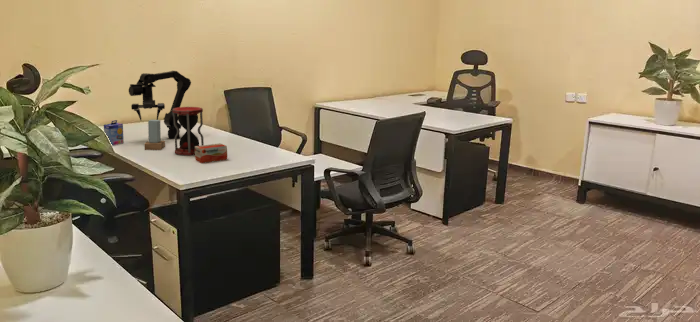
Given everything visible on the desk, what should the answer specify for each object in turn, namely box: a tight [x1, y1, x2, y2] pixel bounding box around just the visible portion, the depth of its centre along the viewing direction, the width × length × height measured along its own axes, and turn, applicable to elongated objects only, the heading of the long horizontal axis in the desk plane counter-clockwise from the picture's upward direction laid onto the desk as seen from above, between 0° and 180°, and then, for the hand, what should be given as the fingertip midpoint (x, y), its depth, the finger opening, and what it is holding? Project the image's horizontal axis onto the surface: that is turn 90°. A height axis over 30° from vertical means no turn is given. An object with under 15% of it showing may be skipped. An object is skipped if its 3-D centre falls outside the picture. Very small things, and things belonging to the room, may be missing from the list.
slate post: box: [147, 119, 162, 143], centre depth 316 cm, size 5×5×12 cm
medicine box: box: [194, 143, 228, 164], centre depth 294 cm, size 15×8×8 cm, turn 128°
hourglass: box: [172, 106, 205, 157], centre depth 307 cm, size 16×16×25 cm
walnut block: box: [143, 140, 166, 151], centre depth 318 cm, size 9×9×4 cm
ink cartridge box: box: [103, 119, 125, 146], centre depth 324 cm, size 10×6×14 cm, turn 152°
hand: (149, 120), depth 332 cm, fingers open, 9 cm apart
